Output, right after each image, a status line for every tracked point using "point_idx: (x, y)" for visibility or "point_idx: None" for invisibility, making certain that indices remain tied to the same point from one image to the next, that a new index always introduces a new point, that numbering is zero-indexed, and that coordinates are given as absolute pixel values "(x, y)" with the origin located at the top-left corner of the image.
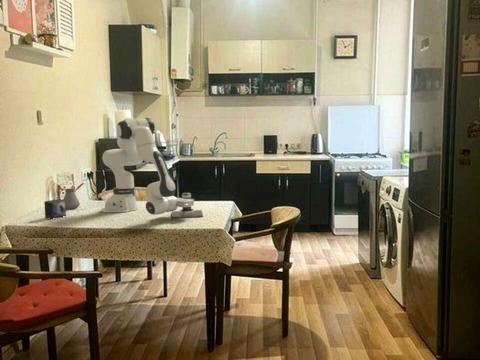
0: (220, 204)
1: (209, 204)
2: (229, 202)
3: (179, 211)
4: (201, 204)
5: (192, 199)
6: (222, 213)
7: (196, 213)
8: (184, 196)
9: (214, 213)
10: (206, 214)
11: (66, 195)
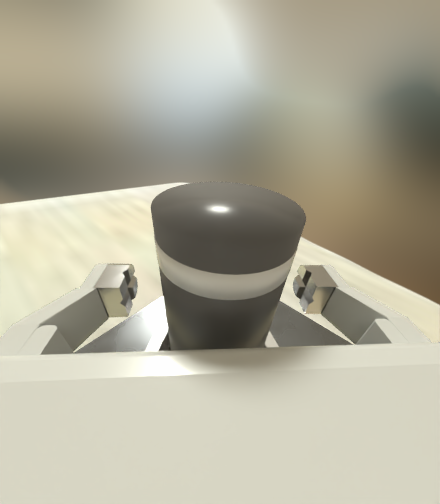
0: None
1: (151, 201)
2: (189, 183)
3: (102, 349)
4: (122, 206)
5: (332, 274)
6: (320, 257)
7: (274, 332)
8: (261, 281)
9: (297, 268)
10: (294, 297)
11: None
